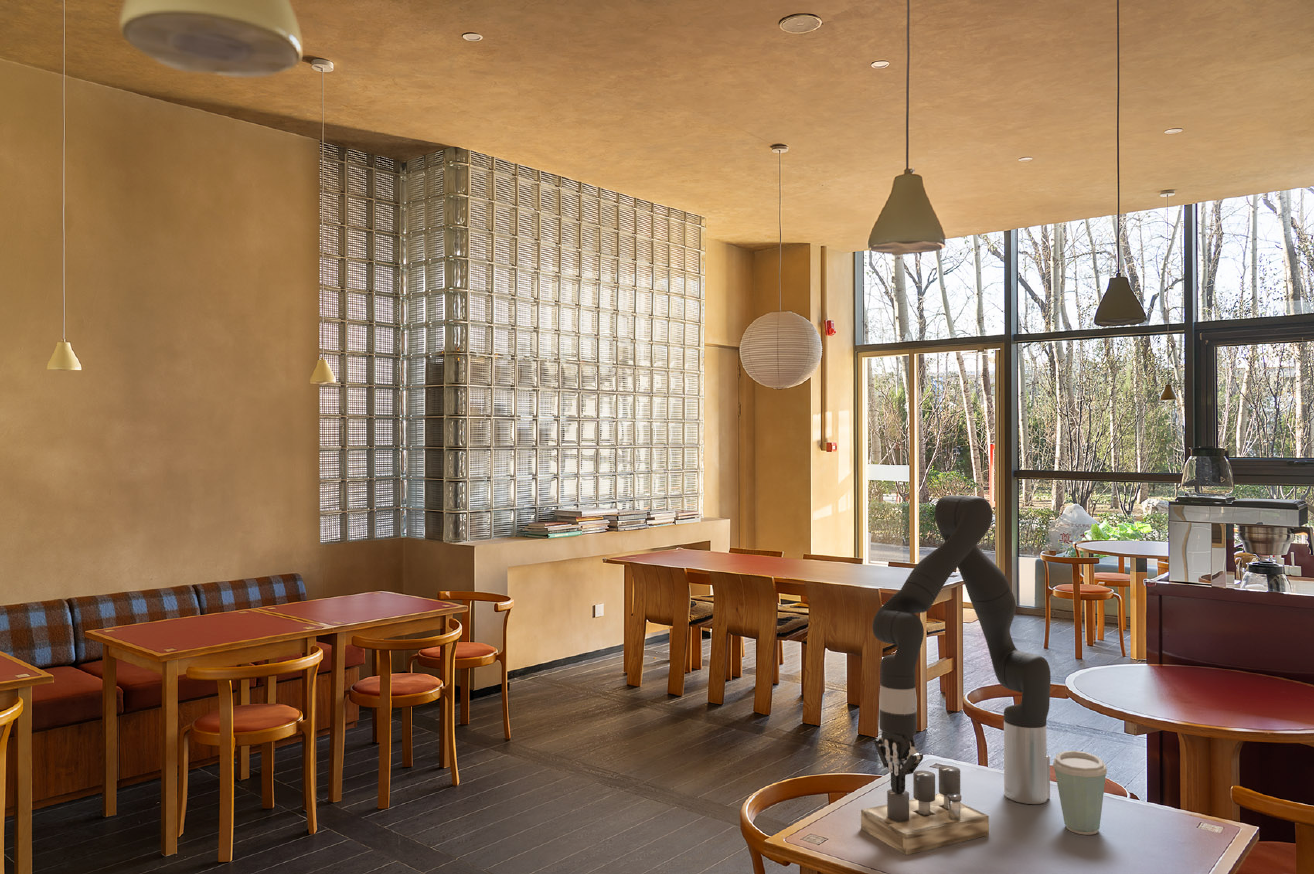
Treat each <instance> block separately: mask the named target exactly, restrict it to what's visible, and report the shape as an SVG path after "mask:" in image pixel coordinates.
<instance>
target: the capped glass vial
mask: <svg viewBox="0 0 1314 874" xmlns="http://www.w3.org/2000/svg"><path fill="white" fill-rule="evenodd" d="M947 799H948V818H949V819H950V820H953V821H959V820H961V807H960V803H961V801H962V795H961V793H960V794H957V793H948V794H947Z"/></svg>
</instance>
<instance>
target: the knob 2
mask: <svg viewBox="0 0 1314 874" xmlns="http://www.w3.org/2000/svg"><path fill="white" fill-rule="evenodd" d="M948 793H957V794H960V795H961V769H960V768H958V767H957V766H953V765H941V766H938V794H942V795H944V807H945V808H947V809H948V799H947V794H948Z"/></svg>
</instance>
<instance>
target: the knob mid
mask: <svg viewBox="0 0 1314 874" xmlns="http://www.w3.org/2000/svg"><path fill="white" fill-rule="evenodd" d="M912 774H913V776H912V778H913V779H912V780H913V781H912V785H913V786H912V788H913V789H912V790H913V792H912V793H913V797H912V798H913V799H916V800H918V812H919V813H920V814H923V815H929V814H930V802H932V801H935V794H936V774H935V773H934V772H932V771H928V770H915V771H914V772H913V773H912Z"/></svg>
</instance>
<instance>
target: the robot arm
mask: <svg viewBox="0 0 1314 874" xmlns="http://www.w3.org/2000/svg"><path fill="white" fill-rule="evenodd" d="M993 516H994V514H993V508H992V506H991V504H990V502H989V501H988V500H987V499H985V498H984V497H982V496H977V495H959V494H957V495H955V494H953V495H944V496H942V497H941V498H939V499H938V500H937V502H936V505H935V508H934V519H935V522H936V525H937V528H938V530H939V533H940V535H941V537H942V539H943V540H944V542H942V543H941V545H940V546H939V547H937V548H936V549H934V550H932V552H930V553H929V554H927V555H926V556H925V557H924V558H923V559H921V560H920V561H919V562H918V563H917V564H916V565H915V566H914V568H913V569H912V571H911V572H910V574H909V575H908V576H907V578H906V580H905V582H904V583H903V585H902V586H901V588H900V589H899V590H898V591H897V592H895V594H893V596H891V597H890V598H889V599H888V600H887V601H886V602H884V604H883V605H882V606H880V608H879V609H878V610H877V612H876V614H875V615H874V617H873V621H872V625H871V626H872V627H871V628H872V633H873V635H874V637H875V638H876V639H877V640H878V641H880V642H882V643H886V644H892V645H894V646H895V645H896V646H897V647H896V651H895V653H894V654H889V655H885V656H884V657H882V659H881V661H880V669H879V670H880V671H879V672H880V676H879V677H880V680H879V681H880V686H879V687H880V688H879V694H878V696H879V697H878V701H879V702H878V704H879V706H878V710H879V711H878V712H879V713H878V714H879V715H878V721H879V722H878V724H879V725H878V727H879V729H880V731H882V732H881V735H880V736H881V737H879V738H875V739H874V740H873V744H874V747H875V749H876V751H877V754H878V757H879V758H880V762H881V763H882V766H883V768H887V769H888V772H889V773H890V787H891V788H890V789H892V791H893V792H895V793H897V794H900V793H903V792H904V791H906V776H907V775H912V774H913V772H915V771H916V770H917V768H918V767H919V765H920V764H921V762H922V761H923V759H924V755H923V753H918V751H917V750H916V748H915V747H916V746H915V745H916V743H915V740H914V735H915V733H916V732H917V729H918V727H917V726H918V723H917V721H918V720H917V719H918V718H917V716H918V715H917V714H918V713H917V711H918V710H917V709H918V708H917V707H918V705H917V704H918V703H917V702H918V701H917V692H916V666H917V662H918V659H919V654H920V652H921V648H922V644H923V640H924V635H925V633H924V631H925V629H924V625H923V621H922V620H921V618H920V617H919V616H918V615H917V614H920V613H921V614H922V613H925V612H928V611H929V610H930V609H931V607H932V606H933V604H934V602H935V601H936V599H937V597H938V596H939V594H940V593H941V591H942V589H943V587H944V586H945V584H946V583H947V581H948V579H949V578H950V577H951V575H952V574H953V572H955V570H956V569H958V572H959V573H960V576H961V579H962V581H963V584H964V586H965V589H966V591H967V594H968V596H969V597H968V598H969V600H970V603H971V605H972V607H973V610H974V612H975V615H976V617H977V619H978V622H979V625H980V627H981V630H982V634H983V636H984V638H985V641H986V644H987V649H988V652H989V655H990V656H989V657H990V661H991V662H992V667H993V671H994V674H995V678H996V679H997V681H998V683H999V684H1000V685H1001V686H1002V687H1003V688H1005V689H1007V690H1009V691H1014V692H1016V693H1017V692H1018V693H1021V700H1020V701H1021V703H1019V704H1013V705H1008V706H1006V707H1005V708H1004V709H1003V779H1004V781H1003V783H1004V785H1003V787H1004V790H1003V792H1004V793H1003V794H1004V796H1005V797H1006V798H1007V799H1009V800H1011V801H1014V802H1016V803H1021V804H1027V805H1041V804H1044V803H1046V802H1047V801H1048V799H1050V798H1051V762H1050V760H1051V757H1050V756H1049V755H1047V754H1048V750H1047V749H1048V747H1047V746H1048V743H1047V738H1048V737H1047V736H1048V735H1047V733H1048V732H1047V731H1048V730H1047V729H1048V728H1047V725H1048V723H1047V722H1048V721H1047V720H1048V716H1049V712H1050V702H1051V701H1050V697H1051V680H1052V679H1051V675H1052V674H1051V669H1050V664H1049V662H1048V661H1047V659H1046V658H1045V657H1043V656H1041V655H1038V654H1034V653H1029V652H1024V651H1021V650H1018V649H1017V647H1016V645H1015V644H1014V641H1013V638H1012V635H1011V626H1012V623H1013V620H1014V618H1015V614H1016V610H1017V603H1016V599H1015V596H1014V593H1013V591H1012V588H1011V585H1010V583H1009V580H1008V578H1007V576H1006V575H1005V574H1004V572H1003V571H1002V570H1001V569H1000V568H999V567H998V566H997V564H995V563H994V562H993V561H992V559H990V557H988V556H987V555H986V554H985V553H984V552H983V551H982V550H981V548H980V547H979V546H978V543H980V542H981V540H982V539H983V538H984V537H985V535H986V534H987V533H988V531H989V530H990V528H991V525H992V522H993Z"/></svg>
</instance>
